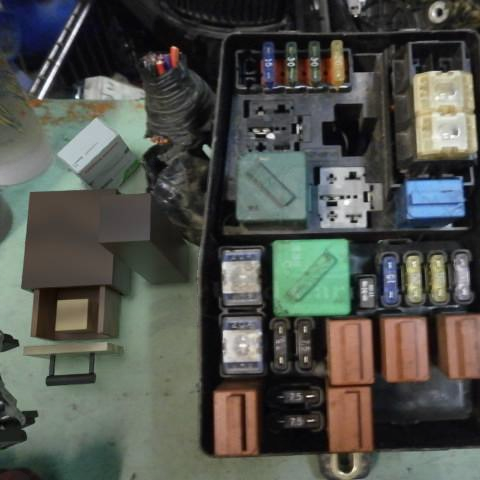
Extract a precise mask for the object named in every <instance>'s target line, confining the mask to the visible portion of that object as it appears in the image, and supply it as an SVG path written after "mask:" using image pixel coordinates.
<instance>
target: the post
mask: <svg viewBox="0 0 480 480" xmlns="http://www.w3.org/2000/svg"><path fill="white" fill-rule="evenodd" d="M98 243H99V244H100V245H102V246H103V247H104V248H105V249H107V250H108V251H109V252H111V253H112V254H113V255H114V256H116V257H117V258H118V259H120V260H121V261H122V262H123V263H125V264H126V265H127V266H129V267H130V268H131V269H132V271H133V272H134V273H136V274H137V275H139V276H140V277H141V278H142V279H143V280H145V281H146V282H148V283H149V284H150V285H164V284H183V283H185V284H186V283H190V245H189V244H188V243H187V241H186V240H185V239H184V237H183V236H182V234H181V233H180V231H179V229H177V227H176V226H175V224H174V223H173V222H172V220H171V219H170V218H169V216H168V215H167V213H166V212H165V210H164V209H163V208H162V206H161V204H159V202H158V200H157V199H156V198H155V196H154V195H153V193H152V192H146V193H145V192H144V193H123V194H122V193H121V194H119V195H101V201H100V220H99V238H98Z"/></svg>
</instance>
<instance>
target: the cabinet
mask: <svg viewBox="0 0 480 480" xmlns="http://www.w3.org/2000/svg"><path fill="white" fill-rule="evenodd" d="M119 194H122V193H121V192H120V191H119V190H118V189H117V188H112V189H90V188H88V189H70V190H69V189H68V190H67V189H65V190H44V191H43V190H42V191H30V192H29V196H28V207H27V219H26V229H25V230H26V231H25V239H24V240H25V241H24V251H23V262H22V272H21V282H20V283H21V285H20V290H23V291H25V292H28V293H31V294H33V295H34V289H49V288H68V287H87V286H106V285H109V286H110V287H112V288H114V289H115V290H117V291H119V292H120V297H129V296H130V297H131V296H132V273H133V272H132V271H133V270H132V269H131V268H130V267H129V266H127V265H126V264H125V263H123V262H122V261H121V260H120V259H118V258H117V257H116V256H114V255H113V254H112V253H111V252H109V251H108V250H107V249H105V248H104V247H103V246H102V245H100V244H99V243H98V238H99V220H100V201H101V195H119Z"/></svg>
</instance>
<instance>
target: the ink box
mask: <svg viewBox="0 0 480 480" xmlns="http://www.w3.org/2000/svg"><path fill="white" fill-rule="evenodd" d="M56 156H57V158H58V159H59V160H60V161H61V162H62V163H64V164H65V166H66V167H67V168H68V169H69V170H71V171H72V172H73V173H74V174H75V176H77V178H79V179H80V180H81V182H83V183H84V184H85V185H86V186H87V187H88V189H112V188H116V189H117V188H119V187H120V185H122V184H123V183H124V182H125V181H126V180H127V179H128V177H129V176H131V175H132V174H133V173H134V172H135V171H136V169H138V168H139V167H140V166H141V163H140V161H139V160H138V159H137V157H136V155H134V153H133V151H132V150H131V149H130V147H129V146H128V144H127V143H126V142H125V141H124V139H123V138H122V136H121V135H120V133H118V132H117V130H115V129H114V128H113V127H111V126H110V125H109V124H107V123H106V122H105V121H104V120H102V119H101V118H100V117H97V116H96V117H95V118H94V119H93V120H92V121H90V123H89V124H87V125H86V126H85V127H84V128H83V129H82V130H81V131H80V132H79V133H78V134H76V135H75V136H74V137H73V138H72V140H70V141H69V142H68V143H67V144H66V145H65V146H63V148H61V150H59V151H58V152H57V153H56Z"/></svg>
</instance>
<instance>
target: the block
mask: <svg viewBox="0 0 480 480" xmlns="http://www.w3.org/2000/svg"><path fill="white" fill-rule="evenodd" d="M98 309H99V304H98V303H96V302H94V301H92V300H89V299H76V300H58V302H57V315H56V329H55V331H58V332H62V333H65V334H81V333H97V328H98Z"/></svg>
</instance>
